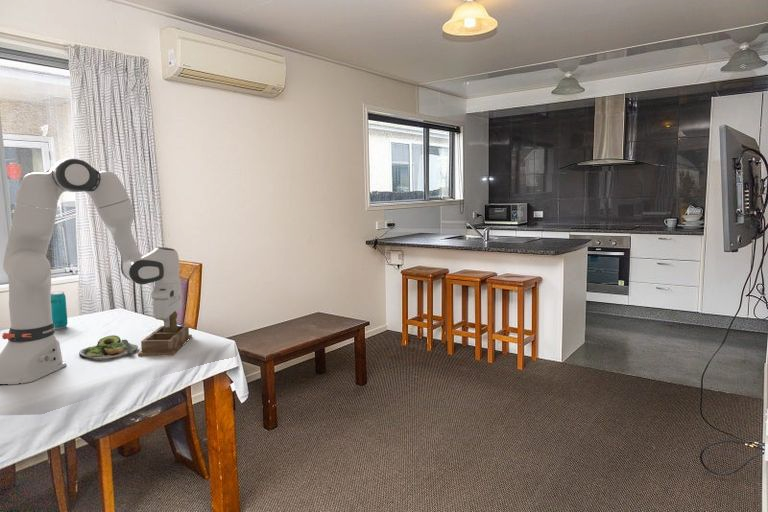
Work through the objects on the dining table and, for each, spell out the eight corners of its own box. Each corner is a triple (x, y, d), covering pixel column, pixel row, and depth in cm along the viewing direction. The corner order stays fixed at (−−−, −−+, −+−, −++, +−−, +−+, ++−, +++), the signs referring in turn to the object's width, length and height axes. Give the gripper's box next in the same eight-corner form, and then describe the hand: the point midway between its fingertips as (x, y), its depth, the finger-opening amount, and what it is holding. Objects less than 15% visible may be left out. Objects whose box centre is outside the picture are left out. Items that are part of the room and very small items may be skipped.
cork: (173, 341, 187) (172, 313, 186) (159, 340, 188) (157, 312, 186) (182, 337, 193) (181, 309, 191) (168, 336, 194) (167, 308, 192)
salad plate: (152, 351, 181) (152, 338, 180) (104, 366, 166) (103, 353, 165) (120, 342, 190) (119, 331, 190) (72, 356, 175) (71, 343, 174)
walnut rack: (173, 355, 176) (172, 341, 175) (138, 356, 175) (137, 342, 174) (192, 336, 197) (191, 324, 197) (160, 337, 196) (160, 325, 196)
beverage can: (52, 326, 210) (50, 292, 208) (68, 325, 212) (66, 291, 210) (50, 330, 205) (47, 294, 203) (66, 328, 207) (63, 293, 205)
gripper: (169, 284, 198) (171, 317, 200) (149, 295, 178) (151, 332, 180) (185, 284, 198) (187, 317, 200) (167, 295, 178) (169, 332, 180)
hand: (170, 324), depth 190 cm, fingers closed on cork, 4 cm apart
